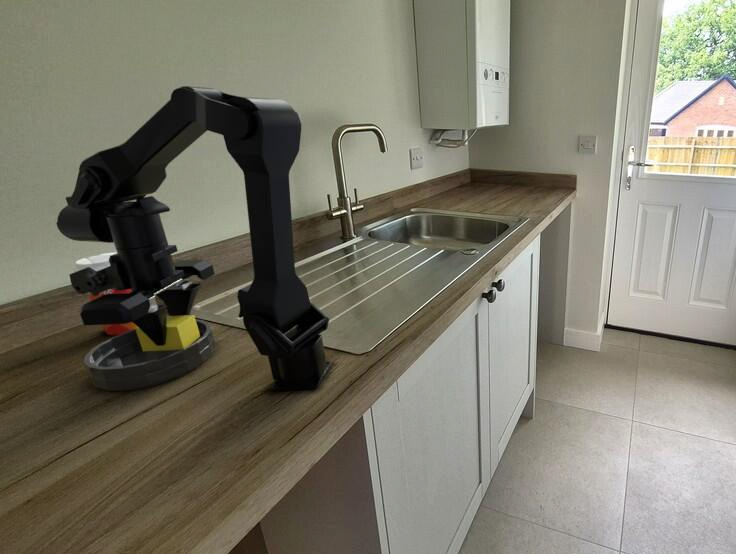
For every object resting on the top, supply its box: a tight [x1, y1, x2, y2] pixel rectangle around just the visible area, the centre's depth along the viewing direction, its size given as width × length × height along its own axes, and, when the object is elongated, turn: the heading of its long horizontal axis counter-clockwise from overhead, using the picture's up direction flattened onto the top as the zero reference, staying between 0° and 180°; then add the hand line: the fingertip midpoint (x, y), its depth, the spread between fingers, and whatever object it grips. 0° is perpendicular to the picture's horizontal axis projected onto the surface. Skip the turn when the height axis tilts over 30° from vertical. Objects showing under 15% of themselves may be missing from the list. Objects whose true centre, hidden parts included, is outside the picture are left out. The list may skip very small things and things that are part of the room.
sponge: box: [135, 314, 200, 351], centre depth 64 cm, size 6×4×4 cm, turn 94°
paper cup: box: [73, 251, 138, 336], centre depth 75 cm, size 8×8×14 cm
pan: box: [83, 318, 217, 392], centre depth 65 cm, size 15×15×4 cm
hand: (171, 338), depth 65 cm, fingers closed on sponge, 4 cm apart
